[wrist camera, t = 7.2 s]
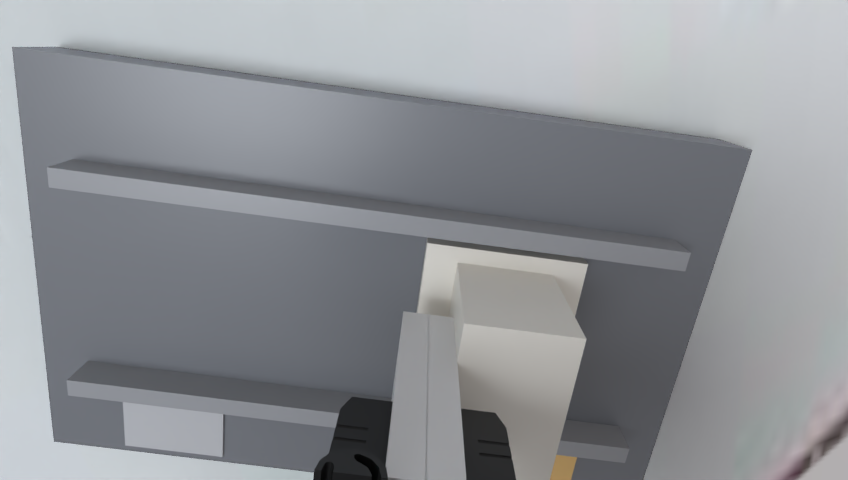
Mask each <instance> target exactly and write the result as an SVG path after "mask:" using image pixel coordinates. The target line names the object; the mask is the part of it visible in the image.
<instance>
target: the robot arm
mask: <svg viewBox="0 0 848 480" xmlns="http://www.w3.org/2000/svg"><path fill="white" fill-rule="evenodd" d="M313 480H516V476H515V471H514V465H513V460H512V455H511V450H510V447H509V439H508V434H507V429H506V427H505V425H504V424H503V423H502V421H501V420H500V419H499V417H498V416H497V414H496V413H493V412H485V411H477V410H469V409H461V403H460V390H459V377H458V364H457V357H456V344H455V330H454V318H453V317H445V316H437V315H429V314H421V313H413V312H406V311H403V318H402V326H401V333H400V340H399V348H398V355H397V363H396V370H395V377H394V385H393V393H392V401H384V400H375V399H367V398H359V397H351V398H350V399H349V400H348V401H347V402H346V403H345V404H344V405H343V406H342V408H341V409H340V412H339V416H338V419H337V423H336V427H335V431H334V435H333V440H332V443H331V447H330V451H329V454H327V455H326V456H325V457H323V458H322V459H321V460H320V461H319V462H318V464H317V466H316V468H315V469H314V479H313Z"/></svg>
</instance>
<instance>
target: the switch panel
mask: <svg viewBox="0 0 848 480" xmlns="http://www.w3.org/2000/svg"><path fill="white" fill-rule="evenodd" d="M12 50H13V60H14V69H15V79H16V88H17V98H18V107H19V116H20V126H21V135H22V145H23V154H24V163H25V173H26V182H27V192H28V201H29V211H30V220H31V229H32V239H33V248H34V258H35V267H36V277H37V286H38V295H39V305H40V314H41V324H42V333H43V342H44V352H45V361H46V371H47V380H48V390H49V399H50V408H51V418H52V427H53V437H54V442H63V443H71V444H80V445H88V446H96V447H105V448H113V449H122V450H130V451H138V452H147V453H155V454H164V455H172V456H180V457H189V458H197V459H206V460H214V461H222V462H231V463H239V464H248V465H256V466H264V467H273V468H281V469H290V470H298V471H306V472H314V469H315V468H316V466H317V464H318V462H319V461H320V460H321V459H322V458H323V457H325V456H326V455H327V454H329V451H330V447H331V443H332V440H333V435H334V431H335V427H336V423H337V419H338V416H339V412H340V409H341V408H342V406H343V405H344V404H345V403H346V402H347V401H348V400H349V399H350V398H351V397H359V398H367V399H375V400H384V401H392V393H393V385H394V377H395V370H396V363H397V355H398V348H399V340H400V333H401V326H402V318H403V311H406V312H413V313H416V312H417V305H418V298H419V291H420V284H421V277H422V270H423V263H424V256H425V249H426V242H427V237H428V238H436V239H443V240H451V241H458V242H466V243H473V244H481V245H489V246H496V247H504V248H511V249H519V250H526V251H534V252H542V253H549V254H557V255H564V256H572V257H579V258H584V259H585V260H586V262H587V263H588V267H587V271H586V275H585V279H584V283H583V287H582V291H581V295H580V299H579V303H578V307H577V311H576V315H575V318H576V320H577V322H578V324H579V326H580V328H581V329H582V331H583V333H584V335H585V337H586V343H585V347H584V351H583V355H582V359H581V362H580V366H579V370H578V374H577V378H576V381H575V385H574V389H573V393H572V397H571V401H570V404H569V408H568V412H567V416H566V420H565V423H564V427H563V431H562V435H561V439H560V443H559V446H558V450H557V454H556V458H555V462H554V465H553V469H552V473H551V477H550V480H643V478H644V475H645V472H646V469H647V466H648V463H649V460H650V457H651V454H652V451H653V448H654V445H655V442H656V439H657V436H658V432H659V429H660V426H661V423H662V420H663V417H664V414H665V411H666V408H667V405H668V402H669V399H670V396H671V393H672V390H673V387H674V384H675V381H676V378H677V375H678V372H679V369H680V366H681V363H682V360H683V357H684V354H685V351H686V348H687V345H688V342H689V339H690V336H691V333H692V330H693V327H694V324H695V321H696V318H697V315H698V312H699V309H700V306H701V303H702V300H703V297H704V294H705V291H706V288H707V285H708V282H709V279H710V276H711V273H712V270H713V267H714V264H715V261H716V258H717V255H718V252H719V248H720V245H721V242H722V239H723V236H724V233H725V230H726V227H727V224H728V221H729V218H730V215H731V212H732V209H733V206H734V203H735V200H736V197H737V194H738V191H739V188H740V185H741V182H742V179H743V176H744V173H745V170H746V167H747V164H748V161H749V158H750V155H751V152H752V150H751V149H748V148H744V147H741V146H738V145H735V144H732V143H729V142H726V141H723V140H719V139H712V138H705V137H698V136H691V135H684V134H676V133H669V132H662V131H655V130H648V129H641V128H633V127H626V126H619V125H612V124H605V123H598V122H590V121H583V120H576V119H569V118H562V117H555V116H547V115H540V114H533V113H526V112H519V111H511V110H504V109H497V108H490V107H483V106H476V105H468V104H461V103H454V102H447V101H440V100H433V99H425V98H418V97H411V96H404V95H397V94H390V93H382V92H375V91H368V90H361V89H354V88H347V87H339V86H332V85H325V84H318V83H311V82H304V81H296V80H289V79H282V78H275V77H268V76H261V75H253V74H246V73H239V72H232V71H225V70H217V69H210V68H203V67H196V66H189V65H182V64H174V63H167V62H160V61H153V60H146V59H139V58H131V57H124V56H117V55H110V54H103V53H96V52H88V51H81V50H74V49H67V48H60V47H12Z"/></svg>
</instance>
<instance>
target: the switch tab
mask: <svg viewBox="0 0 848 480" xmlns="http://www.w3.org/2000/svg"><path fill="white" fill-rule="evenodd" d="M587 267H588V263H587V262H586V260H585V259H584V258H579V257H572V256H564V255H557V254H549V253H542V252H534V251H526V250H519V249H511V248H504V247H496V246H489V245H481V244H473V243H466V242H458V241H451V240H443V239H436V238H428V237H427V242H426V249H425V256H424V263H423V270H422V277H421V284H420V291H419V298H418V305H417V312H416V313H421V314H429V315H437V316H445V317H453V318H454V330H455V344H456V357H457V364H458V377H459V390H460V403H461V409H469V410H477V411H485V412H493V413H496V414H497V416H498V417H499V419H500V420H501V421H502V423H503V424H504V425H505V427H506V429H507V434H508V439H509V447H510V450H511V455H512V460H513V465H514V471H515V476H516V480H550V477H551V473H552V469H553V465H554V462H555V458H556V454H557V450H558V446H559V443H560V439H561V435H562V431H563V427H564V423H565V420H566V416H567V412H568V408H569V404H570V401H571V397H572V393H573V389H574V385H575V381H576V378H577V374H578V370H579V366H580V362H581V359H582V355H583V351H584V347H585V343H586V337H585V335H584V333H583V331H582V329H581V328H580V326H579V324H578V322H577V320H576V318H575V315H576V311H577V307H578V303H579V299H580V295H581V291H582V287H583V283H584V279H585V275H586V271H587Z"/></svg>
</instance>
